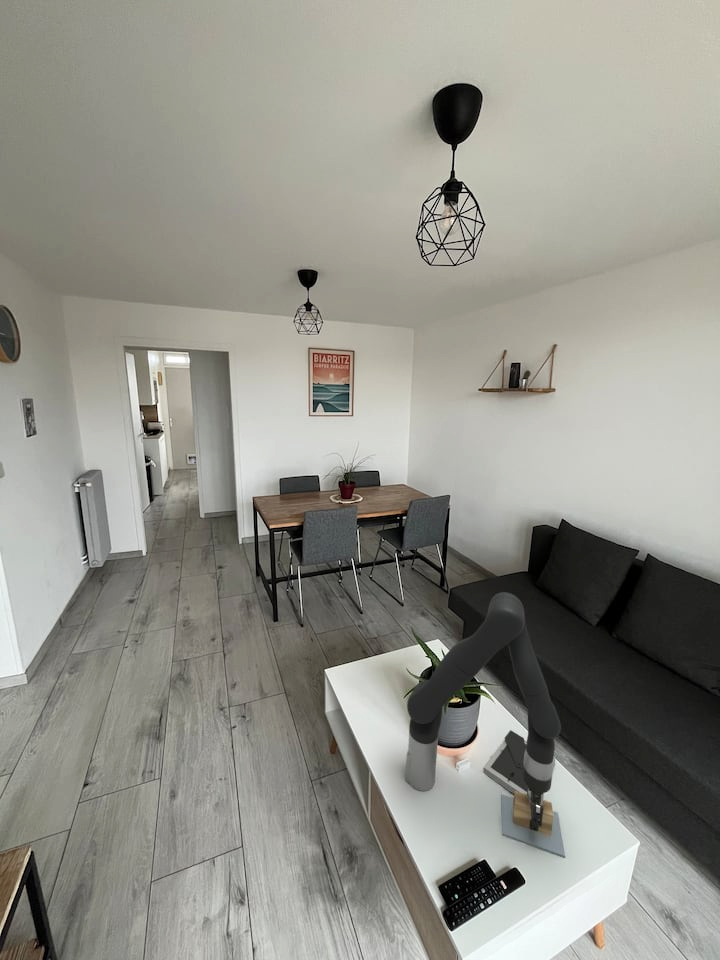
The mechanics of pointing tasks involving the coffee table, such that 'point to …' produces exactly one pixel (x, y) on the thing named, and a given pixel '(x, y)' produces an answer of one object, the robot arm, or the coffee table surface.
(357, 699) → the coffee table surface
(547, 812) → the oak card box
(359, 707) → the coffee table surface
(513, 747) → the picture frame
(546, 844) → the slate mat
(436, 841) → the coffee table surface
